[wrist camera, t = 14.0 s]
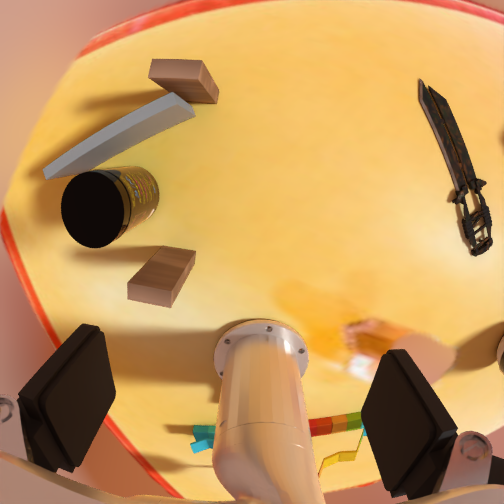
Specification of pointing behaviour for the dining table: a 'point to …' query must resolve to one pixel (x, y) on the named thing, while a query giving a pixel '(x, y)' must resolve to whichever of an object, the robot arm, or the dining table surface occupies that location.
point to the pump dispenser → (501, 355)
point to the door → (121, 136)
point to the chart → (317, 428)
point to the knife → (457, 165)
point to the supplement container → (108, 204)
